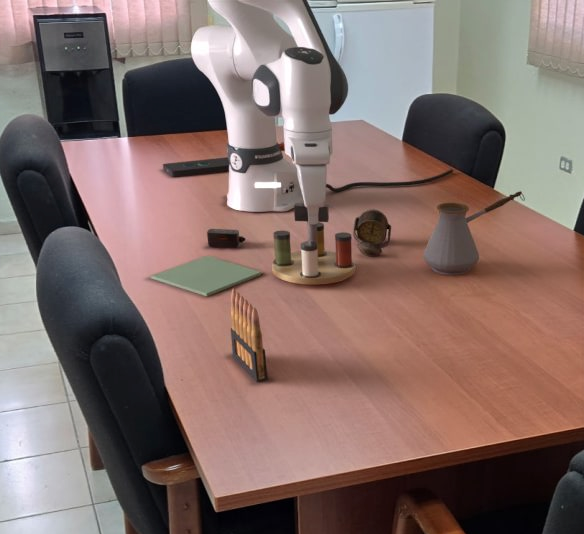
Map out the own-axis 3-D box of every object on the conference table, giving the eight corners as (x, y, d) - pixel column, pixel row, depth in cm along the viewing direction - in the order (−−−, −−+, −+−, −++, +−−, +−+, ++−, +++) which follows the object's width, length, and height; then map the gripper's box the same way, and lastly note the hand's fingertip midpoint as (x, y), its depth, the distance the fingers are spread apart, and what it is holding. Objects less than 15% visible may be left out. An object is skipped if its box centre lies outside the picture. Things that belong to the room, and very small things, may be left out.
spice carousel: (255, 267, 189) (250, 202, 182) (320, 250, 199) (317, 188, 192) (307, 291, 179) (304, 223, 172) (372, 271, 190) (371, 206, 183)
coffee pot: (434, 281, 189) (436, 206, 181) (415, 262, 198) (416, 190, 190) (530, 271, 196) (536, 198, 188) (507, 253, 205) (512, 183, 197)
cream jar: (298, 273, 183) (297, 243, 180) (311, 269, 185) (310, 240, 182) (309, 277, 181) (307, 247, 178) (322, 273, 183) (320, 244, 180)
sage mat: (207, 258, 195) (207, 255, 195) (262, 274, 188) (261, 271, 188) (151, 278, 184) (150, 275, 184) (206, 296, 177) (206, 293, 177)
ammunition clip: (232, 356, 156) (225, 287, 150) (243, 354, 157) (237, 285, 151) (256, 382, 148) (250, 310, 142) (267, 379, 149) (262, 308, 143)
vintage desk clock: (407, 217, 206) (366, 201, 207) (383, 228, 195) (341, 211, 196) (398, 248, 209) (358, 232, 211) (375, 261, 198) (333, 244, 200)
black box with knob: (241, 249, 200) (240, 234, 199) (207, 247, 200) (206, 232, 199) (246, 242, 204) (244, 227, 203) (213, 240, 204) (211, 225, 203)
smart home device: (161, 163, 249) (234, 155, 259) (162, 169, 250) (234, 162, 260) (171, 170, 244) (245, 163, 253) (172, 177, 245) (246, 169, 254)
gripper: (287, 131, 184) (291, 202, 191) (294, 157, 167) (298, 234, 174) (320, 130, 185) (323, 201, 193) (330, 157, 168) (333, 233, 176)
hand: (311, 217), depth 183 cm, fingers open, 6 cm apart
